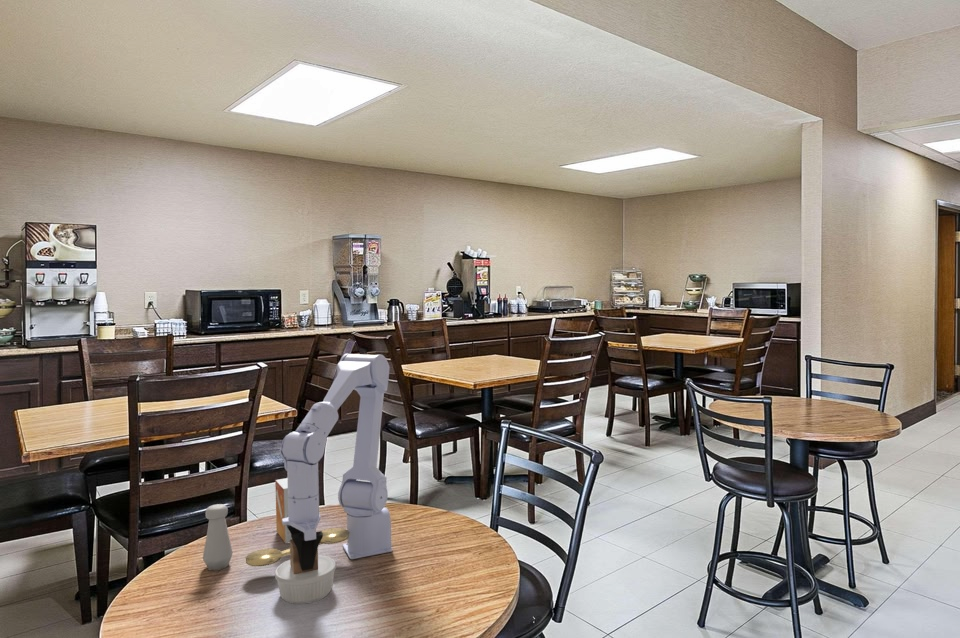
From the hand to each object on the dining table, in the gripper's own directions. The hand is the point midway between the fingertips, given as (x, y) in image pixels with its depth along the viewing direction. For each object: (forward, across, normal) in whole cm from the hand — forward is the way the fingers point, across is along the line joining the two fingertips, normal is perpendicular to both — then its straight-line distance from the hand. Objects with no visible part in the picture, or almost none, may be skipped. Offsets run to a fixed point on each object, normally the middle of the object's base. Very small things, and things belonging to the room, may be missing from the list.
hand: (305, 563), depth 118 cm
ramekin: (+6, 0, 0) cm, 6 cm away
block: (+1, 0, 0) cm, 1 cm away
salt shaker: (+6, -20, -15) cm, 26 cm away
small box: (+6, -30, +2) cm, 31 cm away
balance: (+6, -11, 0) cm, 12 cm away
